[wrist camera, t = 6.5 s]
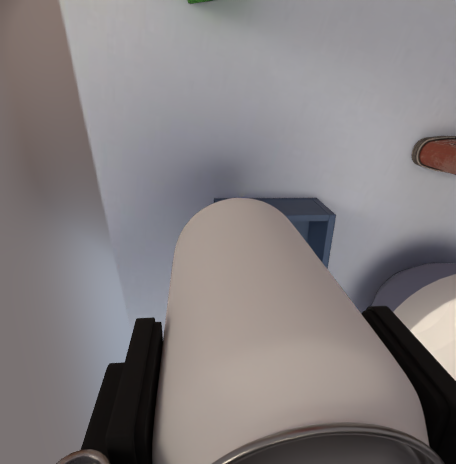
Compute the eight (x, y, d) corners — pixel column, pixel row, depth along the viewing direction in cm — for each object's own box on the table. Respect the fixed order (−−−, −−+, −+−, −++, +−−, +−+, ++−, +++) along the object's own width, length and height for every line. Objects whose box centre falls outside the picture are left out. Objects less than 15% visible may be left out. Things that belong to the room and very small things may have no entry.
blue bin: (213, 288, 36) (215, 317, 31) (214, 198, 32) (216, 215, 27) (305, 286, 37) (320, 313, 32) (316, 197, 33) (336, 214, 28)
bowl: (482, 324, 41) (560, 387, 33) (362, 370, 43) (405, 443, 34) (468, 215, 35) (558, 256, 26) (327, 273, 36) (369, 331, 28)
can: (165, 202, 16) (99, 445, 5) (297, 187, 16) (514, 383, 5) (184, 312, 18) (169, 637, 7) (297, 298, 19) (445, 587, 8)
